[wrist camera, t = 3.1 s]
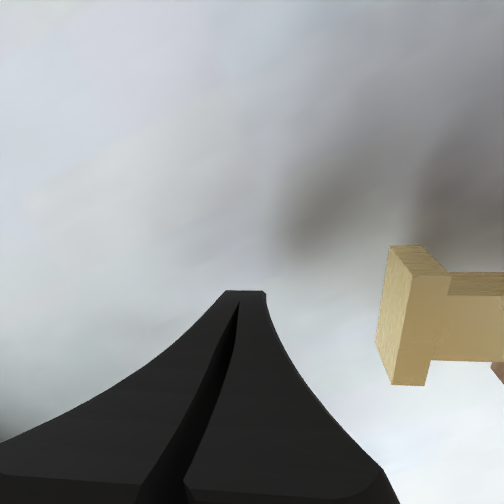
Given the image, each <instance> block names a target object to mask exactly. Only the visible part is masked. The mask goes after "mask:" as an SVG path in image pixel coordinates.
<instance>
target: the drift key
mask: <svg viewBox="0 0 504 504" xmlns="http://www.w3.org/2000/svg"><path fill="white" fill-rule="evenodd" d="M375 344H376V347H377V349H378V352H379V354H380V357H381V359H382V362H383V364H384V367H385V369H386V372H387V375H388V377H389V380H390V382H391V385H410V386H424V385H425V381H426V377H427V373H428V369H429V365H430V361H431V360H443V361H476V362H504V272H448V271H447V270H446V269H445V268H444V267H443V266H442V265H441V264H439V263H438V262H437V261H436V260H435V259H434V258H433V257H432V256H431V255H430V254H429V253H428V252H427V251H426V250H425V249H424V248H423V247H422V246H389V253H388V260H387V266H386V273H385V279H384V286H383V293H382V299H381V306H380V312H379V319H378V326H377V332H376V339H375Z"/></svg>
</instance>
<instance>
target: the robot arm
mask: <svg viewBox="0 0 504 504" xmlns="http://www.w3.org/2000/svg"><path fill="white" fill-rule="evenodd" d="M0 504H400V502H399V500H398V498H397V496H396V494H395V492H394V490H393V488H392V486H391V484H390V482H389V480H388V478H387V476H386V474H385V472H384V470H383V469H382V468H381V467H380V466H379V465H378V464H377V463H376V462H375V461H374V460H373V459H372V458H371V457H370V456H369V455H368V454H367V453H366V452H365V451H364V450H363V449H362V448H361V447H360V446H359V445H358V444H357V443H356V442H355V441H354V440H353V439H352V438H351V437H350V436H349V435H348V434H347V432H346V431H345V430H344V429H343V428H342V427H341V426H340V425H339V423H338V422H337V421H336V420H335V419H334V418H333V417H332V416H331V415H330V413H329V412H328V411H327V410H326V408H325V407H324V406H323V405H322V403H321V402H320V401H319V399H318V398H317V397H316V396H315V394H314V393H313V392H312V391H311V389H310V388H309V387H308V385H307V384H306V382H305V381H304V380H303V378H302V377H301V375H300V374H299V372H298V371H297V369H296V368H295V366H294V364H293V363H292V361H291V359H290V358H289V356H288V354H287V352H286V351H285V349H284V347H283V345H282V343H281V341H280V339H279V337H278V335H277V332H276V330H275V328H274V325H273V323H272V320H271V317H270V315H269V311H268V308H267V303H266V293H265V292H263V291H236V290H226V291H225V292H224V293H223V294H222V295H221V296H220V297H219V298H218V299H217V300H216V302H215V303H214V304H213V305H212V306H211V307H210V308H209V309H208V310H207V311H206V312H205V313H204V314H203V316H202V317H201V318H200V319H199V320H198V321H197V322H196V323H195V324H194V325H193V326H192V327H191V328H190V329H189V330H187V331H186V332H185V333H184V334H183V335H182V336H181V337H180V338H179V339H178V340H177V341H175V342H174V343H173V344H172V345H171V346H170V347H169V348H167V349H166V350H165V351H164V352H162V353H161V354H160V355H158V356H157V357H156V358H154V359H153V360H152V361H150V362H149V363H148V364H146V365H145V366H143V367H142V368H141V369H139V370H138V371H136V372H134V373H133V374H131V375H130V376H128V377H127V378H125V379H124V380H122V381H121V382H119V383H117V384H116V385H114V386H113V387H111V388H110V389H108V390H106V391H104V392H103V393H101V394H99V395H97V396H96V397H94V398H92V399H90V400H89V401H87V402H85V403H83V404H81V405H79V406H77V407H76V408H74V409H72V410H70V411H68V412H66V413H64V414H62V415H60V416H58V417H56V418H54V419H52V420H50V421H48V422H46V423H43V424H41V425H39V426H37V427H35V428H33V429H31V430H29V431H26V432H24V433H22V434H20V435H18V436H16V437H14V438H11V439H9V440H7V441H5V442H2V443H0Z"/></svg>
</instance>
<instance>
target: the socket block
mask: <svg viewBox="0 0 504 504" xmlns="http://www.w3.org/2000/svg"><path fill="white" fill-rule="evenodd" d="M491 369H492V370H493V372H494V373H495V374H496V375H497V377H498V378H499V379H500V380H501V382H502V383H503V384H504V362H493V363H492V366H491Z"/></svg>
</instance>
